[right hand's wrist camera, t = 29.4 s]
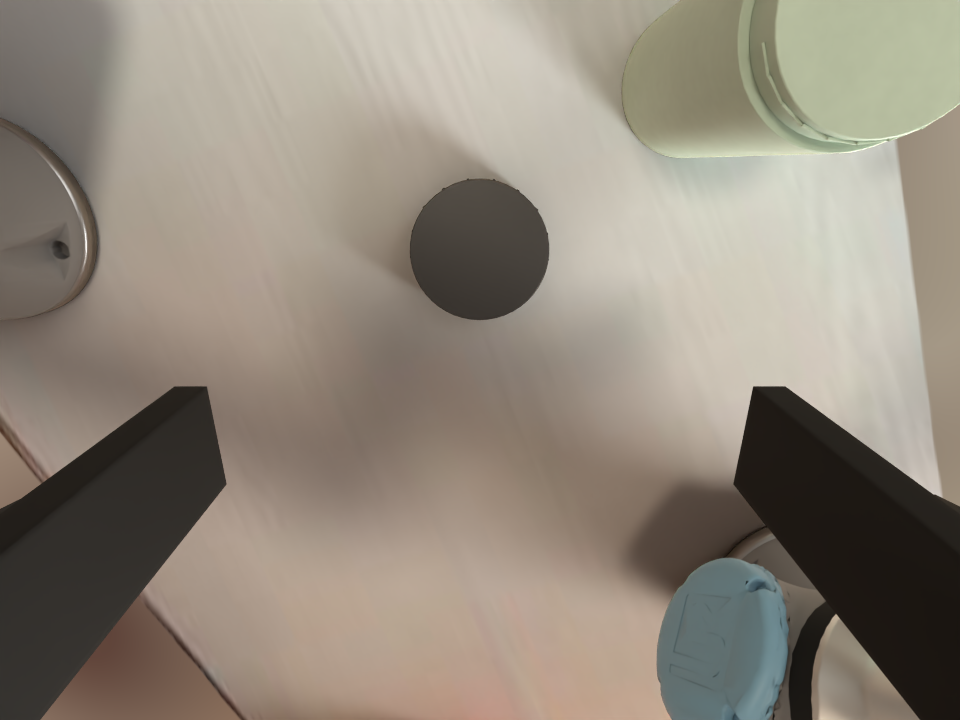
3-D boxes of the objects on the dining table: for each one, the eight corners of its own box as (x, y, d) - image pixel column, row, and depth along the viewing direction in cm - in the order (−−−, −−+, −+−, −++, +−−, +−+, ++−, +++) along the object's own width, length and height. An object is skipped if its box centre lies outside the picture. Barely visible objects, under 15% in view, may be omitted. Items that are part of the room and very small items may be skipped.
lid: (530, 161, 39) (532, 160, 37) (558, 295, 43) (563, 301, 41) (395, 198, 40) (391, 200, 38) (435, 326, 44) (432, 334, 42)
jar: (663, 185, 40) (827, 205, 21) (595, 67, 37) (714, -31, 18) (783, 100, 38) (1082, 38, 19) (720, -31, 35) (1000, -257, 16)
